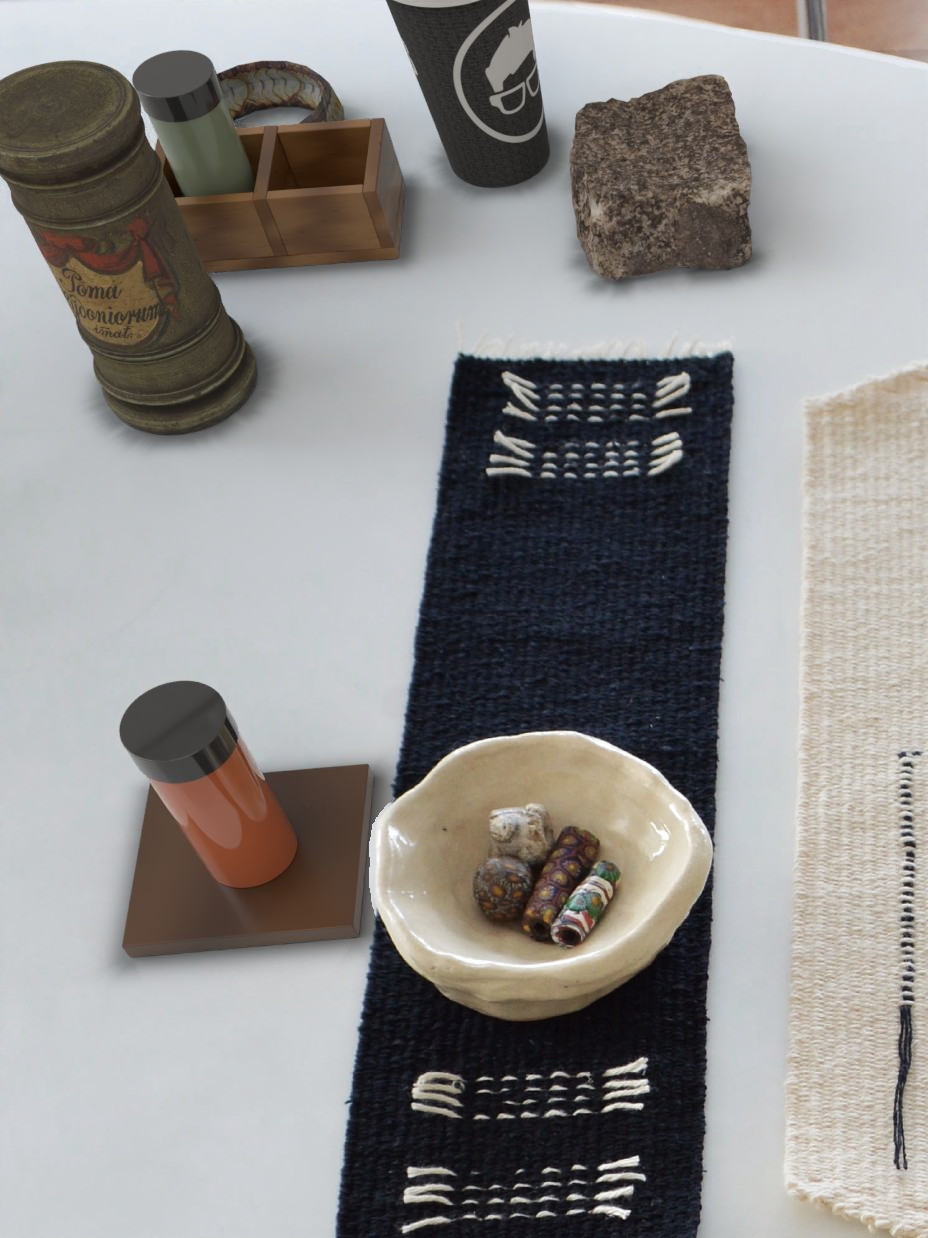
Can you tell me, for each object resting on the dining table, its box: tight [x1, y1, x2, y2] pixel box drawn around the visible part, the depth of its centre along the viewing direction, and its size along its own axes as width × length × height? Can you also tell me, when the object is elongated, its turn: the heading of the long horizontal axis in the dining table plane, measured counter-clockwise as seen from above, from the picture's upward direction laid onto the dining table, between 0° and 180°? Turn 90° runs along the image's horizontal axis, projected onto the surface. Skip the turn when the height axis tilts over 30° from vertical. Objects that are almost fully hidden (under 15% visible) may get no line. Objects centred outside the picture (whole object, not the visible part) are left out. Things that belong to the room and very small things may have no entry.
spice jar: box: [118, 680, 298, 888], centre depth 87 cm, size 5×5×10 cm
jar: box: [131, 49, 256, 197], centre depth 113 cm, size 5×5×10 cm
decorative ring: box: [217, 60, 345, 124], centre depth 121 cm, size 10×3×10 cm
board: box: [121, 763, 375, 958], centre depth 92 cm, size 11×10×1 cm
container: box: [0, 59, 258, 435], centre depth 103 cm, size 9×9×18 cm
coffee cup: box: [385, 0, 551, 188], centre depth 115 cm, size 10×10×15 cm
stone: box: [568, 73, 753, 281], centre depth 116 cm, size 11×13×6 cm
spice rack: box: [154, 117, 407, 274], centre depth 116 cm, size 14×7×5 cm, turn 96°
